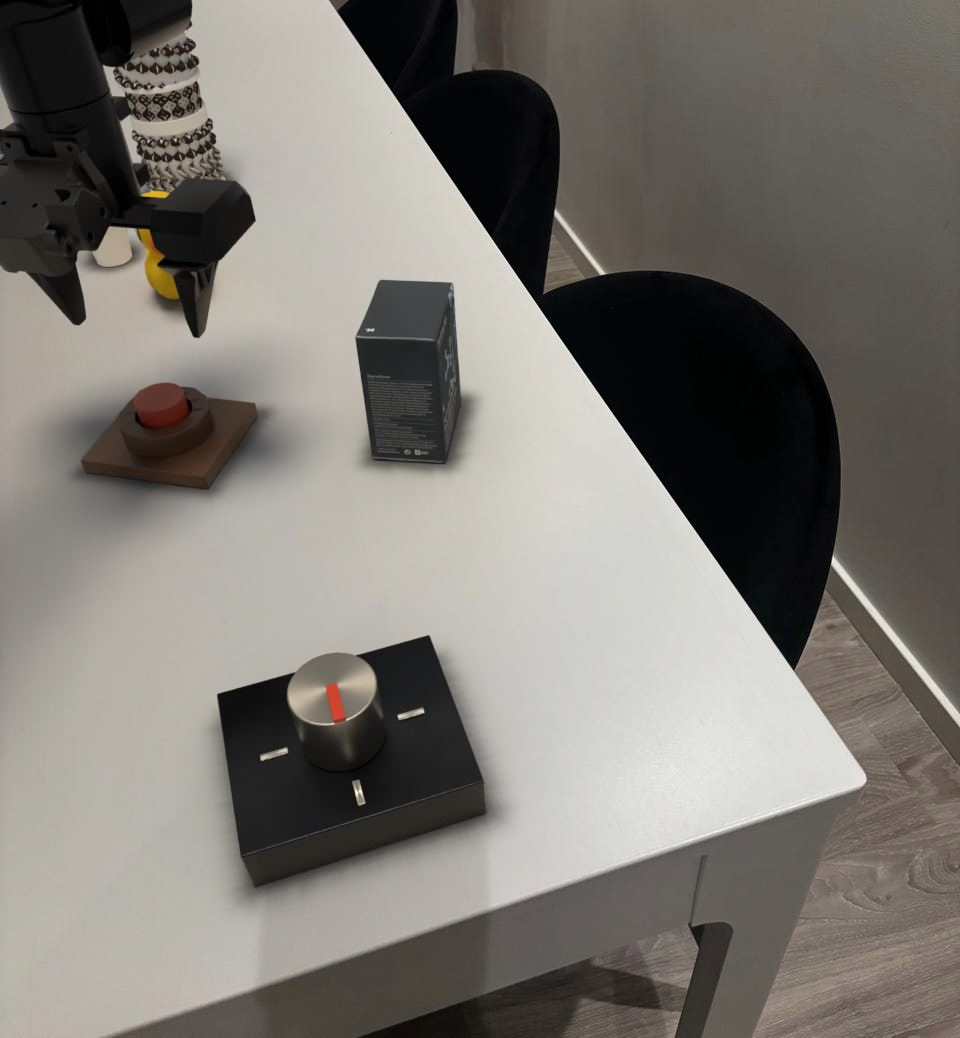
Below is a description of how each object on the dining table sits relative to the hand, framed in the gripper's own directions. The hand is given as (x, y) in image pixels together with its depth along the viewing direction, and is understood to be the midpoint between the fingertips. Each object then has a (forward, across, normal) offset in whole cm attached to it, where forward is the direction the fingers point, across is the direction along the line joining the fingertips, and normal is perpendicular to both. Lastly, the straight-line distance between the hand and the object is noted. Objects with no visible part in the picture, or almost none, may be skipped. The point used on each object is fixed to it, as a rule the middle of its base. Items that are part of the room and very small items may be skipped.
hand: (139, 328), depth 66 cm
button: (+8, 0, 0) cm, 8 cm away
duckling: (+11, -11, +21) cm, 26 cm away
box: (+10, +18, +5) cm, 21 cm away
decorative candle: (+11, -21, +42) cm, 48 cm away
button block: (+10, 0, 0) cm, 10 cm away
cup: (+11, -21, +26) cm, 35 cm away
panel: (+10, +23, -24) cm, 34 cm away
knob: (+7, +23, -24) cm, 34 cm away
